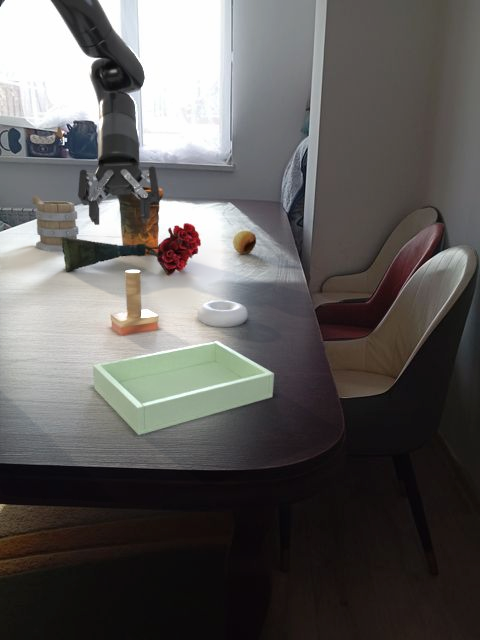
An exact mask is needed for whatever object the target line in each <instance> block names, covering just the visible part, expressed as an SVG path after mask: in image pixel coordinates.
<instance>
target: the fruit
mask: <svg viewBox="0 0 480 640" xmlns="http://www.w3.org/2000/svg"><path fill="white" fill-rule="evenodd" d="M256 244H257V236H256V235H255V233H254V232H252V231H250V230H248V229H241V230H238V231H237V232H236V233H235V234H234V236H233V237H232V245H233V248H234V250H235V251H236V253H238V254H241V255H243V256H244V255H246V254H247V255H250V253H251V252H252V251H253V250H254V248H255V246H256Z"/></svg>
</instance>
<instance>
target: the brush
mask: <svg viewBox="0 0 480 640" xmlns="http://www.w3.org/2000/svg"><path fill="white" fill-rule="evenodd" d="M124 279H125V280H124V281H125V283H124V284H125V302H126V305H125V306H126V311H123V312H116V313H110V316H109V317H110V321H111V329H112V330H113V331H115V332H116V333H117V334H118V335H119V336H121V337H122V336H128V335H135V334H139V333H146V332H152V331H158V330H159V328H158V327H159V325H158V324H159V315H158V314H156V313H155V312H153V311H152V310H149V309H148V308H146V309H143V308H142V282H141V270H139V269H128V270H125V271H124Z"/></svg>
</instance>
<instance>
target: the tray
mask: <svg viewBox="0 0 480 640" xmlns="http://www.w3.org/2000/svg"><path fill="white" fill-rule="evenodd" d="M92 368H93V369H92V370H93V372H92V373H93V384H94V390H95V391H96V392H97V393H98V394H99V395H100V396H101V397H102V398H103V399H104V400H105V401H106V402H107V404H109V406H110V407H111V408H112V409H113V410H114V411H115V412H116V413H117V414H118V416H120V418H122V419H123V420H124V421H125V422H126V423H127V425H128V426H129V427H130V428H131V429H132V430H133V431H134V432H135V433H136V434H137V435H138V436H140V435H144V434H147V433H150V432H151V433H152V432H154V431H158V430H161V429H164V428H168V427H171V426H175V425H179V424H182V423H186V422H189V421H193V420H198V419H200V418H205V417H208V416H210V415H214V414H217V413H218V414H219V413H222V412H226V411H228V410H232V409H236V408H239V407H243V406H246V405H249V404H253V403H256V402H260V401H264V400H267V399H270V398H273V395H274V381H275V373H274V372H272V371H270V370H269V369H267V368H265V367H263V366H262V365H261V364H259V363H256V362H255V361H253V360H251V359H249V358H248V357H246V356H244V355H242V354H241V353H239V352H237V351H236V350H234V349H232V348H230V347H229V346H227V345H226V344H223V343H222V342H220V341H218V340H216V341H211V342H206V343H205V342H204V343H201V344H195V345H189V346H183V347H179V348H174V349H168V350H164V351H157V352H154V353H153V352H152V353H147V354H143V355H136V356H132V357H126V358H122V359H116V360H111V361H106V362H101V363H95V364H92Z"/></svg>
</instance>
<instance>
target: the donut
mask: <svg viewBox="0 0 480 640" xmlns="http://www.w3.org/2000/svg"><path fill="white" fill-rule="evenodd" d="M196 315H197V318H198V321H200V322H201V323H202V324H204V325H206V326H210V327H214V328H215V327H216V328H233V327H238V326H241V325H242V324H244V323H245V322H246V321H247V320H248V317H249V314H248V309H247V308H246V307H245V306H244V304H241V303H239V302H236V301H231V300H210V301H207V302H204V303H202V304H201V305H199V307H198V308H197V313H196Z"/></svg>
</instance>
